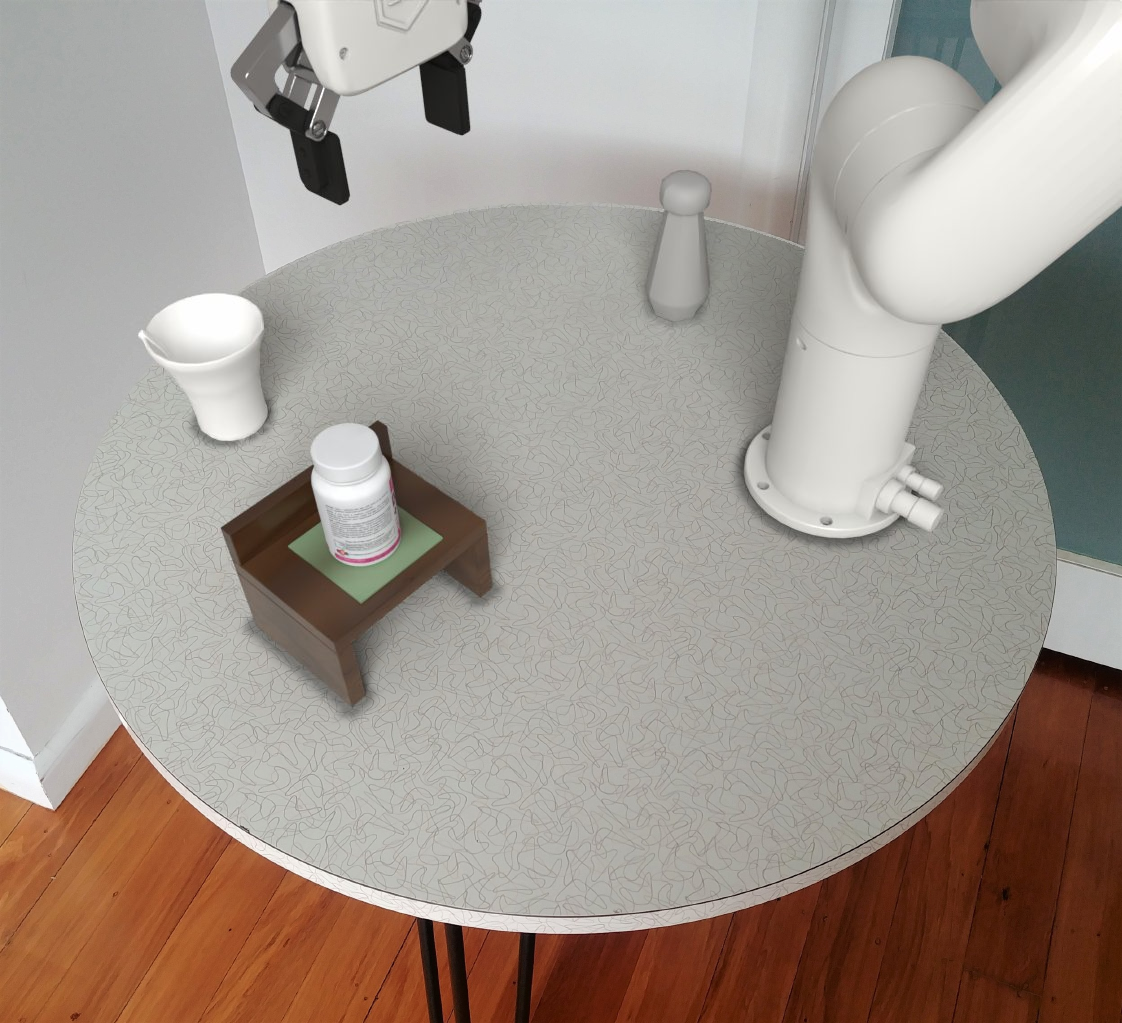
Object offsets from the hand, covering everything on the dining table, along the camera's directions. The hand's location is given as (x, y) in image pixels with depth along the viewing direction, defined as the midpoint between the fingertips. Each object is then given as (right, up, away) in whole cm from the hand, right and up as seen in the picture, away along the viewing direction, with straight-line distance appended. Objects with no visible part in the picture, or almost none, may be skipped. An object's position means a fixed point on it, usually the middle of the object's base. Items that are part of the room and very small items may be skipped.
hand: (390, 160), depth 61 cm
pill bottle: (-3, -22, +7) cm, 23 cm away
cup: (-17, -13, +25) cm, 33 cm away
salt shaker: (+20, -2, +35) cm, 41 cm away
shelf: (-3, -27, +12) cm, 30 cm away
